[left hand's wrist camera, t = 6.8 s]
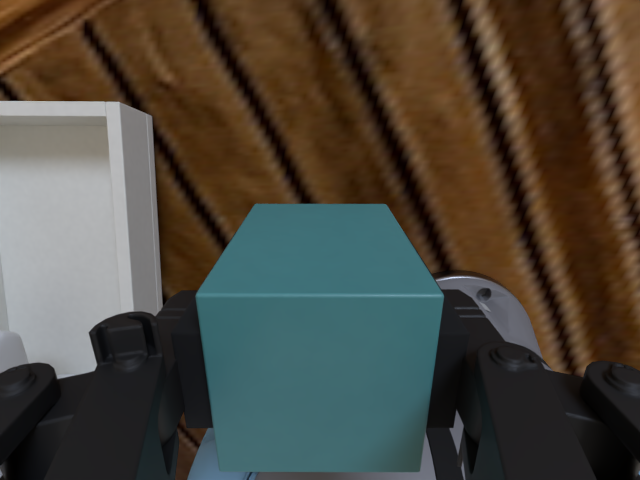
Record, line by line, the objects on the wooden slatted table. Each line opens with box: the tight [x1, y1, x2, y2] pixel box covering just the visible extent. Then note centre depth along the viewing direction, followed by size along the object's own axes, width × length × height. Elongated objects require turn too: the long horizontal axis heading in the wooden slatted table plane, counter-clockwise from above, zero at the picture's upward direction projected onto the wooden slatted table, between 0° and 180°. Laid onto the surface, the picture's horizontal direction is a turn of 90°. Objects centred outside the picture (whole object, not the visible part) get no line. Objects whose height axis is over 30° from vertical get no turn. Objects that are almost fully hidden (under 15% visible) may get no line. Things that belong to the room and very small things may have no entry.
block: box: [196, 204, 444, 473], centre depth 11 cm, size 5×5×7 cm
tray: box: [0, 101, 163, 375], centre depth 29 cm, size 24×14×5 cm, turn 179°
